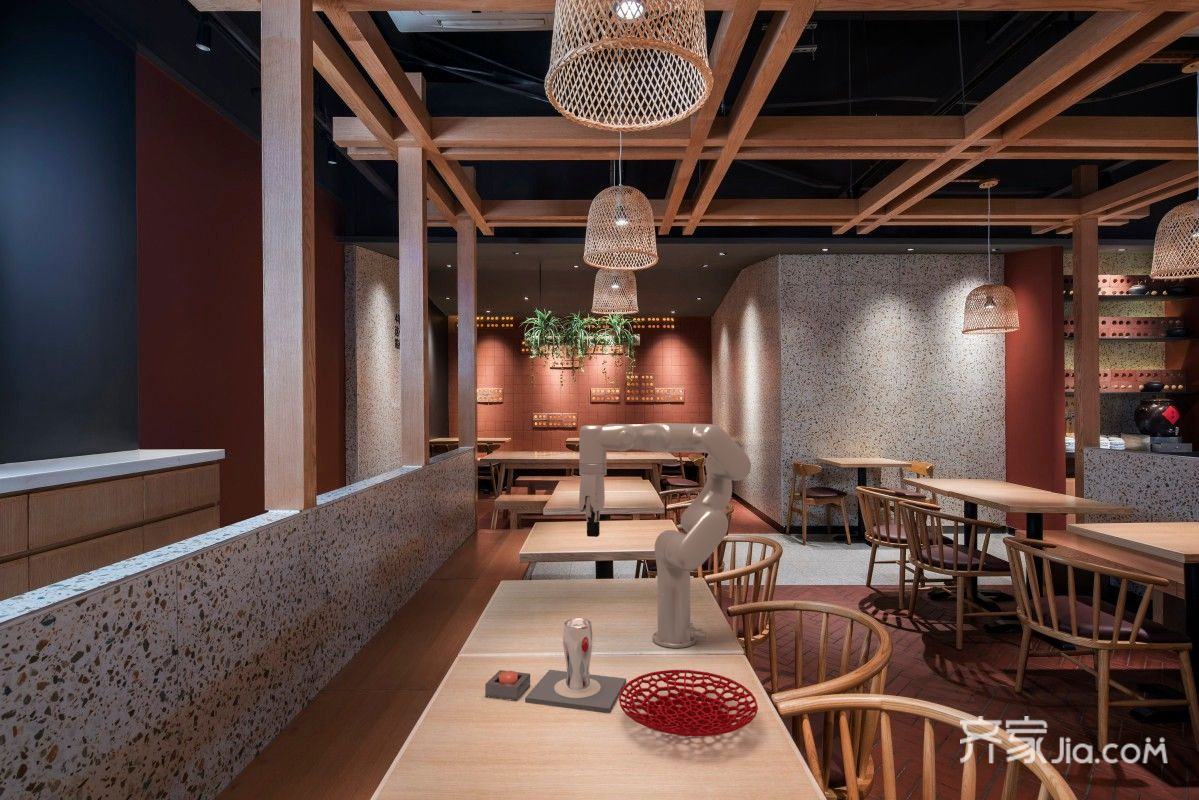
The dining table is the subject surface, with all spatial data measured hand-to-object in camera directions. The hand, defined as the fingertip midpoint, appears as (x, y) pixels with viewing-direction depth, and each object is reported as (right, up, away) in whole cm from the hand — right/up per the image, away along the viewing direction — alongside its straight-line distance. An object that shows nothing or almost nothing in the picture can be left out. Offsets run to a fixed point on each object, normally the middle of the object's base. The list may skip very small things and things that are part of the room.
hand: (593, 535), depth 172 cm
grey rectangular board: (-4, -32, -25) cm, 40 cm away
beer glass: (-3, -31, -24) cm, 39 cm away
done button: (-20, -31, -24) cm, 44 cm away
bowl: (+21, -32, -39) cm, 54 cm away
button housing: (-20, -32, -24) cm, 45 cm away
